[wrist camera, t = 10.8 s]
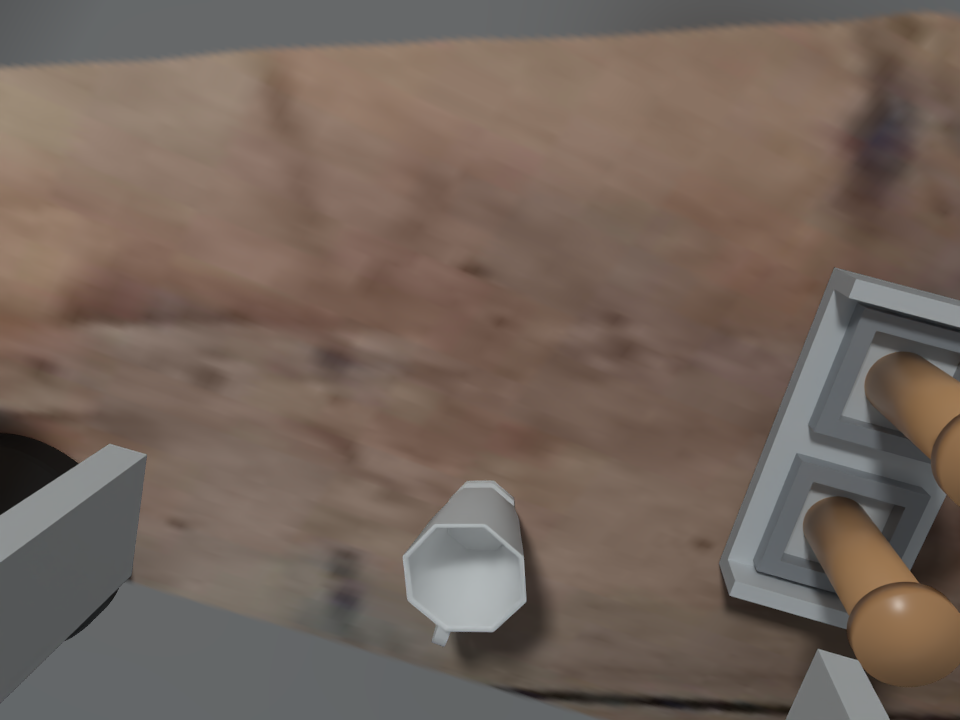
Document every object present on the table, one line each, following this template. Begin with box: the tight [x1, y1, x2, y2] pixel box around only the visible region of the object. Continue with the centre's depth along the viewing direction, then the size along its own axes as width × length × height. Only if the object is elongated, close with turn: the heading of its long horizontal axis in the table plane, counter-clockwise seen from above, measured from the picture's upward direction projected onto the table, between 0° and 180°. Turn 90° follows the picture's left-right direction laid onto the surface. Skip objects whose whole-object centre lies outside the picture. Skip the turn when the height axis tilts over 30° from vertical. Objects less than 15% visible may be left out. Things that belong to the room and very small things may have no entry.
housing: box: [719, 267, 960, 629], centre depth 44 cm, size 10×19×4 cm, turn 166°
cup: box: [403, 481, 527, 647], centre depth 46 cm, size 7×10×8 cm
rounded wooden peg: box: [803, 496, 960, 687], centre depth 40 cm, size 5×5×11 cm
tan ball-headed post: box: [864, 352, 960, 507], centre depth 38 cm, size 5×5×11 cm
